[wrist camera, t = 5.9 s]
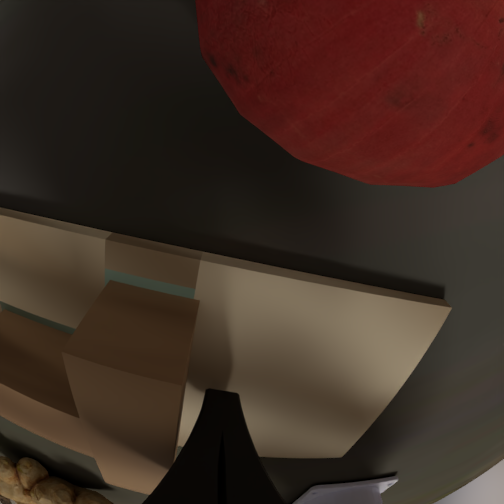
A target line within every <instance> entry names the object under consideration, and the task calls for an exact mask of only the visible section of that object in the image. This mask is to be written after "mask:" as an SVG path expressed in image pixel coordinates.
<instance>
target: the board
mask: <svg viewBox="0 0 504 504" xmlns="http://www.w3.org/2000/svg"><path fill="white" fill-rule="evenodd" d="M110 280H113V281H117V282H121V283H125V284H129V285H133V286H137V287H142V288H146V289H150V290H155V291H159V292H163V293H168V294H172V295H177V296H182V297H186V298H191V299H196V300H200V303H199V308H198V314H197V320H196V326H195V331H194V337H193V343H192V350H191V356H190V362H189V369H188V375H187V382H186V389H185V395H184V402H183V410H182V417H181V424H180V432H179V440H178V446H182V447H183V446H184V445H185V443H186V441H187V439H188V437H189V435H190V433H191V431H192V429H193V427H194V425H195V423H196V420H197V418H198V416H199V413H200V410H201V407H202V404H203V399H204V395H205V390H206V389H208V388H211V389H217V390H223V391H229V392H236V393H238V394H239V395H240V401H241V406H242V410H243V414H244V418H245V421H246V424H247V427H248V430H249V433H250V436H251V438H252V441H253V444H254V446H255V449H256V451H257V453H258V456H259V457H276V458H338V457H342V456H343V455H344V454H345V453H346V452H347V451H348V450H349V449H350V448H351V447H352V446H353V445H354V444H355V443H356V442H357V440H358V439H359V438H360V437H361V436H362V435H363V434H364V433H365V431H366V430H367V429H368V428H369V427H370V426H371V425H372V423H373V422H374V421H375V420H376V419H377V417H378V416H379V415H380V414H381V413H382V411H383V410H384V409H385V408H386V406H387V405H388V404H389V403H390V401H391V400H392V399H393V397H394V396H395V395H396V393H397V392H398V391H399V390H400V388H401V387H402V385H403V384H404V383H405V381H406V380H407V379H408V377H409V376H410V374H411V373H412V371H413V370H414V369H415V367H416V366H417V364H418V363H419V361H420V360H421V358H422V357H423V355H424V354H425V352H426V351H427V349H428V347H429V346H430V344H431V343H432V341H433V340H434V338H435V336H436V335H437V333H438V331H439V330H440V328H441V326H442V325H443V323H444V321H445V319H446V318H447V316H448V314H449V312H450V310H451V309H452V307H451V306H450V305H449V304H448V303H447V302H446V301H445V300H443V299H438V298H433V297H427V296H422V295H417V294H412V293H406V292H401V291H396V290H391V289H386V288H381V287H376V286H370V285H365V284H360V283H355V282H350V281H345V280H340V279H335V278H330V277H325V276H320V275H315V274H310V273H305V272H300V271H295V270H290V269H285V268H280V267H275V266H270V265H265V264H261V263H256V262H251V261H246V260H241V259H236V258H231V257H227V256H222V255H217V254H212V253H207V252H203V251H198V250H193V249H188V248H184V247H179V246H174V245H169V244H165V243H160V242H155V241H151V240H146V239H141V238H137V237H132V236H127V235H123V234H118V233H113V232H109V231H104V230H100V229H95V228H90V227H86V226H81V225H77V224H72V223H68V222H63V221H59V220H54V219H50V218H45V217H41V216H36V215H32V214H27V213H23V212H19V211H14V210H10V209H5V208H1V207H0V313H1V312H2V311H3V310H4V309H6V310H8V311H10V312H13V313H15V314H18V315H20V316H23V317H25V318H28V319H30V320H33V321H35V322H38V323H41V324H43V325H46V326H49V327H52V328H54V329H57V330H60V331H63V332H66V333H69V334H73V333H74V331H75V330H76V328H77V327H78V325H79V324H80V322H81V321H82V319H83V318H84V316H85V315H86V313H87V312H88V310H89V309H90V307H91V306H92V304H93V303H94V302H95V300H96V299H97V297H98V296H99V294H100V293H101V292H102V290H103V289H104V287H105V286H106V285H107V283H108V282H109V281H110Z"/></svg>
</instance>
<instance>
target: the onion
mask: <svg viewBox="0 0 504 504" xmlns="http://www.w3.org/2000/svg"><path fill="white" fill-rule="evenodd" d="M195 1H196V11H197V22H198V32H199V41H200V49H201V54H202V58H203V59H204V60H205V62H206V63H207V65H208V66H209V68H210V69H211V71H212V72H213V74H214V75H215V77H216V78H217V80H218V81H219V83H220V84H221V86H222V87H223V89H224V90H225V92H226V93H227V95H228V97H229V98H230V100H231V101H232V103H233V104H234V106H235V107H236V109H237V111H238V112H239V114H240V115H241V116H243V117H244V118H245V119H247V120H248V121H249V122H251V123H252V124H253V125H254V126H256V127H257V128H258V129H260V130H261V131H262V132H263V133H265V134H266V135H267V136H269V137H270V138H271V139H272V140H274V141H275V142H276V143H277V144H279V145H280V146H281V147H282V148H283V149H285V150H286V151H287V152H288V153H290V154H291V155H292V156H293V157H295V158H297V159H299V160H301V161H303V162H306V163H309V164H312V165H315V166H318V167H321V168H324V169H327V170H330V171H333V172H336V173H339V174H341V175H344V176H347V177H350V178H352V179H355V180H358V181H361V182H364V183H367V184H370V185H397V186H417V187H439V186H444V185H450V184H455V183H457V182H458V181H460V180H462V179H464V178H465V177H467V176H469V175H471V174H472V173H474V172H476V171H478V170H479V169H481V168H483V167H484V166H486V165H488V164H489V163H491V162H493V161H494V160H496V159H498V158H499V157H501V156H502V155H504V0H195Z"/></svg>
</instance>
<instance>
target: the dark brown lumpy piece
mask: <svg viewBox="0 0 504 504" xmlns="http://www.w3.org/2000/svg"><path fill="white" fill-rule="evenodd" d="M0 501H1V503H2V504H12V503H11V500H10V499H9V498H6V497H4V496H2V495H0Z"/></svg>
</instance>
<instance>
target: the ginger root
mask: <svg viewBox="0 0 504 504" xmlns="http://www.w3.org/2000/svg"><path fill="white" fill-rule="evenodd" d="M0 495H2V496H4V497H6V498H9V499H11V500H14V501H15V502H16V503H17V504H113V503H112V502H111V501H109V500H108V499H106V498H105V497H104V496H103V495H101V494H100V493H98V492H96V491H92V490H88V489H85V488H81V487H78V486H76V485H73V484H71V483H69V482H67V481H66V480H64V479H62V478H59V477H56V476H49V475H48V471H47V470H46V469H45V468H44V467H43V466H42V465H41V464H40V463H39V462H38V461H36V460H34V459H31V458H28V457H25V458H21V459H20V460H19V462H18V463H17V464H16V463H14V462H12V461H11V460H10V459H9V458H7V457H3V456H0Z"/></svg>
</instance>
